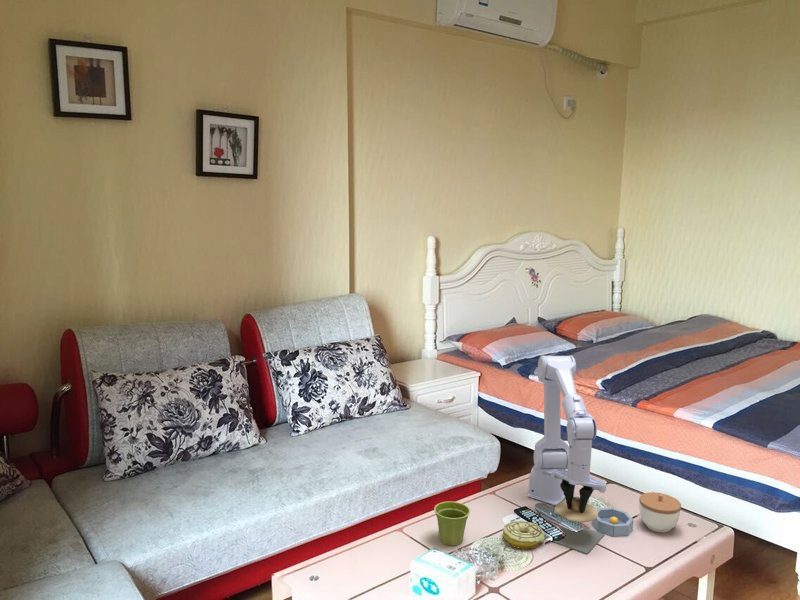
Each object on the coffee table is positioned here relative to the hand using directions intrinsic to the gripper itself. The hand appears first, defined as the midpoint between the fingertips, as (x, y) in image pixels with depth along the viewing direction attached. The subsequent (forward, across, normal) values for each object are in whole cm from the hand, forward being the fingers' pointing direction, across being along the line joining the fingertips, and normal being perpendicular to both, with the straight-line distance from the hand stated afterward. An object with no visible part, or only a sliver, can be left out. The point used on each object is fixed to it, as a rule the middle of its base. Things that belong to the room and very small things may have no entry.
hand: (576, 509), depth 174 cm
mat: (+8, 0, 0) cm, 8 cm away
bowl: (+8, +6, +12) cm, 16 cm away
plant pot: (+8, -25, -22) cm, 34 cm away
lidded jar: (+8, +16, +20) cm, 27 cm away
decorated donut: (+8, -10, -10) cm, 16 cm away
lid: (+1, 0, 0) cm, 1 cm away
